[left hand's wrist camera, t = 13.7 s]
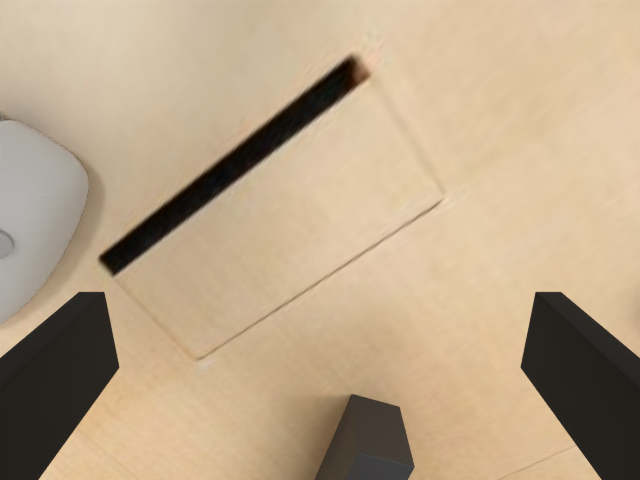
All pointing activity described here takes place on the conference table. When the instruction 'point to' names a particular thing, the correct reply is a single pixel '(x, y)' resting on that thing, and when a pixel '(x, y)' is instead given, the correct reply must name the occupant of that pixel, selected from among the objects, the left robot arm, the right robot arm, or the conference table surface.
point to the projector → (34, 210)
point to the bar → (368, 444)
